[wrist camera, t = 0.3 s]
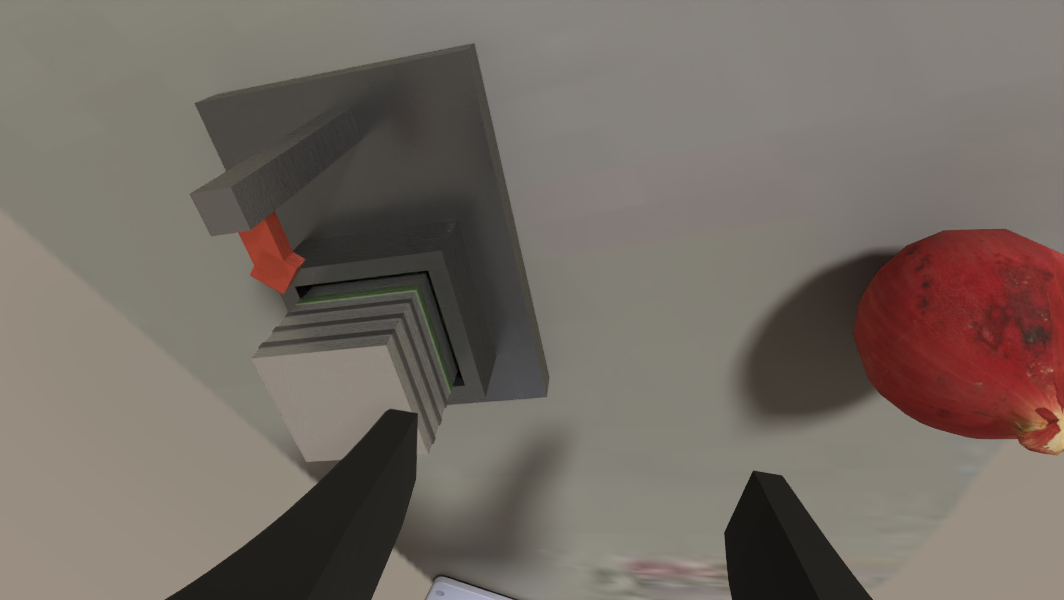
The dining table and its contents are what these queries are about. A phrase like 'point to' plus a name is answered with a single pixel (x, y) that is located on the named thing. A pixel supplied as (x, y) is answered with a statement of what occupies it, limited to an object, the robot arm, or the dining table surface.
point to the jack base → (383, 201)
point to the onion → (970, 336)
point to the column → (359, 362)
